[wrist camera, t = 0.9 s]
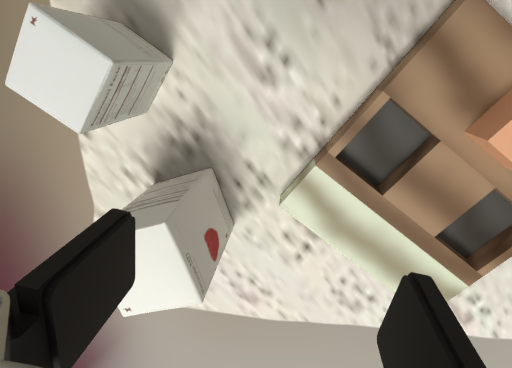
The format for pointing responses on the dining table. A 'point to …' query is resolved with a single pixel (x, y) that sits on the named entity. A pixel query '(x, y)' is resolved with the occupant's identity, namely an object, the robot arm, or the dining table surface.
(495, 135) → the terracotta block
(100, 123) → the supplement box
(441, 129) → the board
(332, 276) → the dining table surface
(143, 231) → the supplement box
